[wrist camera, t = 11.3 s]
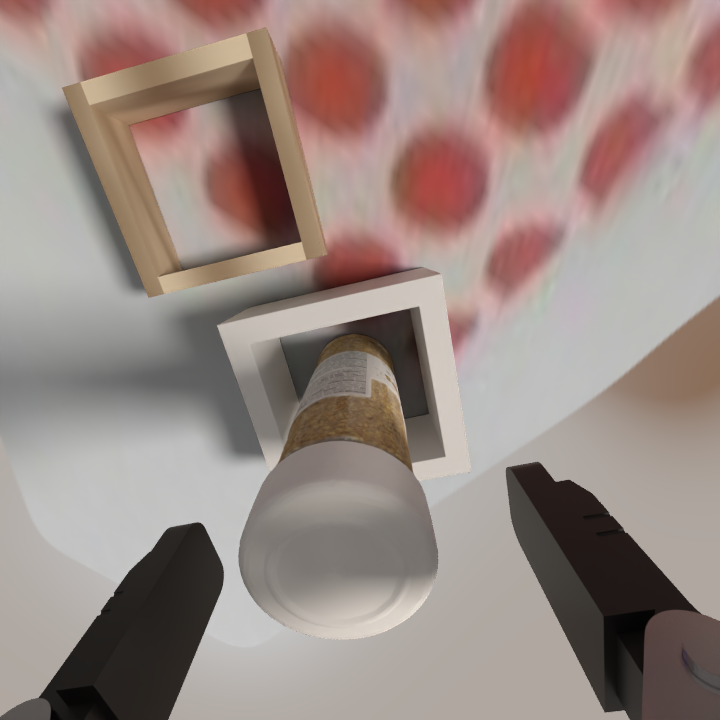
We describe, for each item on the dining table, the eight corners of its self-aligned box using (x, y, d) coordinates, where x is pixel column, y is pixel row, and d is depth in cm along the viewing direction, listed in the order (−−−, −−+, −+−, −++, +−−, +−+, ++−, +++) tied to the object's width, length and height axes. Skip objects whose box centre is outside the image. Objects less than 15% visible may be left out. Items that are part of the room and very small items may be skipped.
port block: (423, 267, 19) (441, 273, 14) (450, 431, 22) (472, 478, 17) (249, 307, 19) (216, 325, 15) (299, 461, 22) (284, 512, 18)
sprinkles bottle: (398, 398, 21) (451, 639, 8) (324, 410, 21) (262, 659, 8) (387, 324, 20) (430, 475, 7) (307, 338, 20) (204, 506, 7)
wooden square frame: (280, 60, 16) (266, 27, 13) (328, 254, 18) (323, 255, 16) (105, 110, 16) (61, 87, 14) (175, 291, 19) (148, 297, 17)
